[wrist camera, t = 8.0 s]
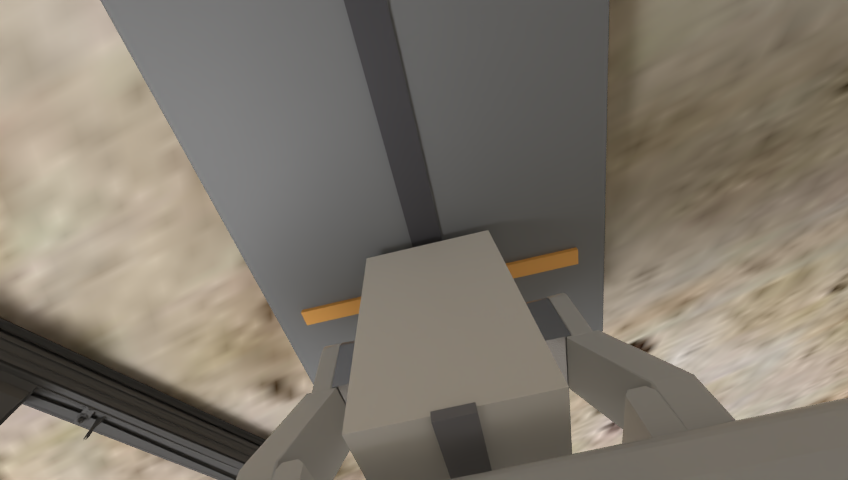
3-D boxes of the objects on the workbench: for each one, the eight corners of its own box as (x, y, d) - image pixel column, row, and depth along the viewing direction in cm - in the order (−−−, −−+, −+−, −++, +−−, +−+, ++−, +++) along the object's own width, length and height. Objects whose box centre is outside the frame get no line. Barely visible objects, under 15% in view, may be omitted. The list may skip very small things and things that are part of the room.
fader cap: (366, 257, 11) (339, 441, 6) (487, 228, 11) (572, 392, 6) (398, 347, 13) (400, 548, 8) (503, 324, 13) (577, 514, 8)
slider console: (-74, -469, 7) (-319, -740, 4) (548, -684, 6) (638, -1120, 4) (328, 349, 17) (317, 396, 15) (575, 294, 17) (604, 334, 14)
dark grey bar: (315, 445, 21) (299, 529, 18) (289, 465, 22) (268, 549, 18) (-67, 264, 14) (-229, 342, 10) (-87, 303, 15) (-245, 388, 11)
